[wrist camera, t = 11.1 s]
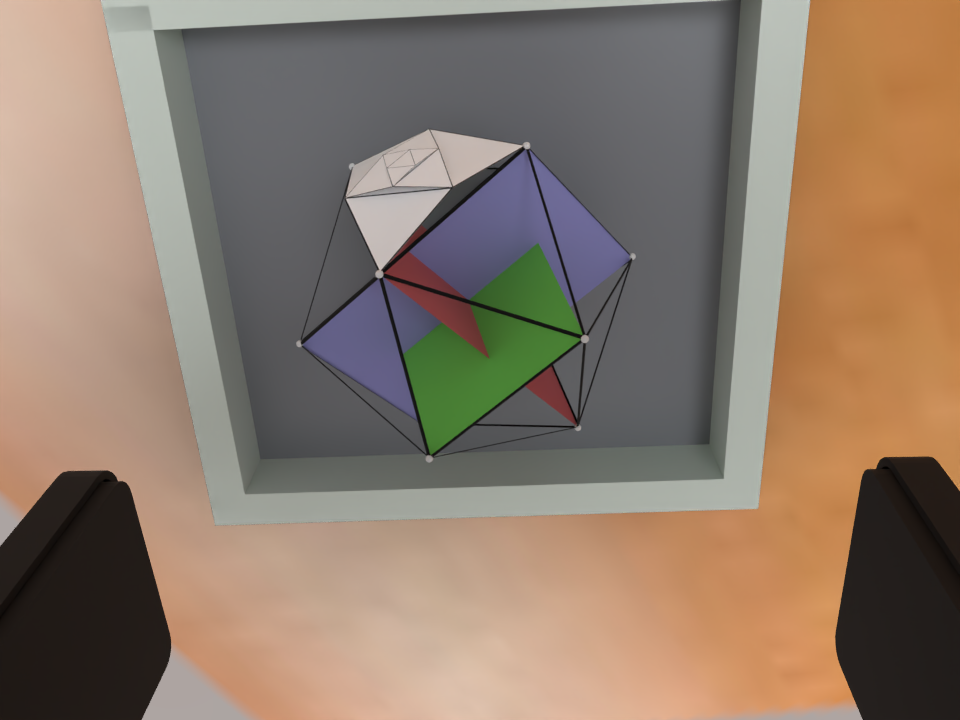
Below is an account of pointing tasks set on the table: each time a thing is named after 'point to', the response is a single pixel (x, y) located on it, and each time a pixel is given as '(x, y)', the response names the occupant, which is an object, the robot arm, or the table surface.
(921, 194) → the table surface
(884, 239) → the table surface
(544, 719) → the table surface
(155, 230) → the shallow square tray
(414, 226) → the geometric puzzle
